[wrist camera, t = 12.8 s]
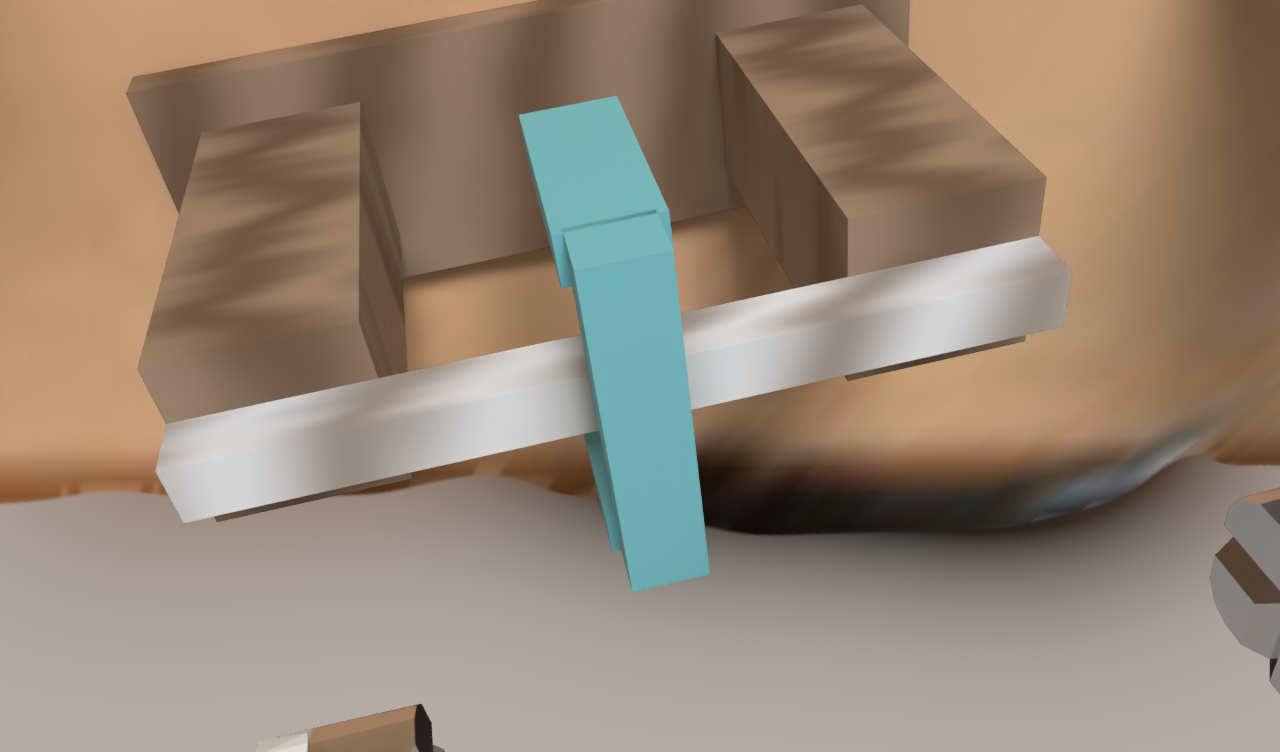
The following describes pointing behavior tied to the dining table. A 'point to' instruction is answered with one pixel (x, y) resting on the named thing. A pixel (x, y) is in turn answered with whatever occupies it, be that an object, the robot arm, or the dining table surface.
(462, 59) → the shelf
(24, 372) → the dining table surface
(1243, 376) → the dining table surface
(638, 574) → the teal stepped bracket
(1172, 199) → the dining table surface
